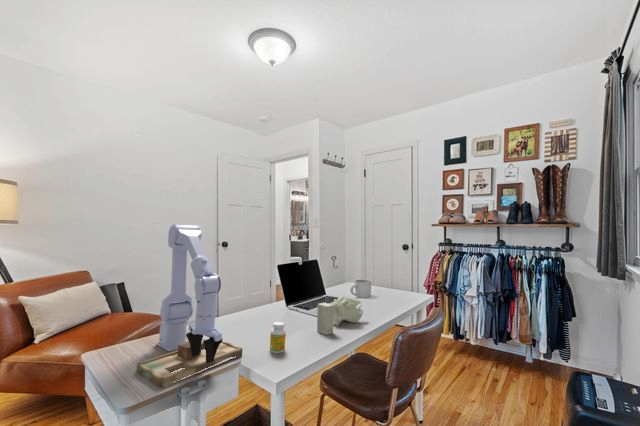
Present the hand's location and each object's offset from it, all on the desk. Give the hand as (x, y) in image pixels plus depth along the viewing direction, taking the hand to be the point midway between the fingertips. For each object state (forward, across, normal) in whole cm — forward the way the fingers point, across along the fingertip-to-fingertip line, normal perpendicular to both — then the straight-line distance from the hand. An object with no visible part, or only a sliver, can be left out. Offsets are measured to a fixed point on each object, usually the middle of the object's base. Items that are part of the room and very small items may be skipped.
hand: (202, 358), depth 94 cm
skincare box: (+3, +10, +54) cm, 55 cm away
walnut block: (+1, -7, 0) cm, 7 cm away
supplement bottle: (+3, +8, +26) cm, 27 cm away
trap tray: (+3, -5, 0) cm, 6 cm away
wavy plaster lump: (+3, +9, +73) cm, 73 cm away
